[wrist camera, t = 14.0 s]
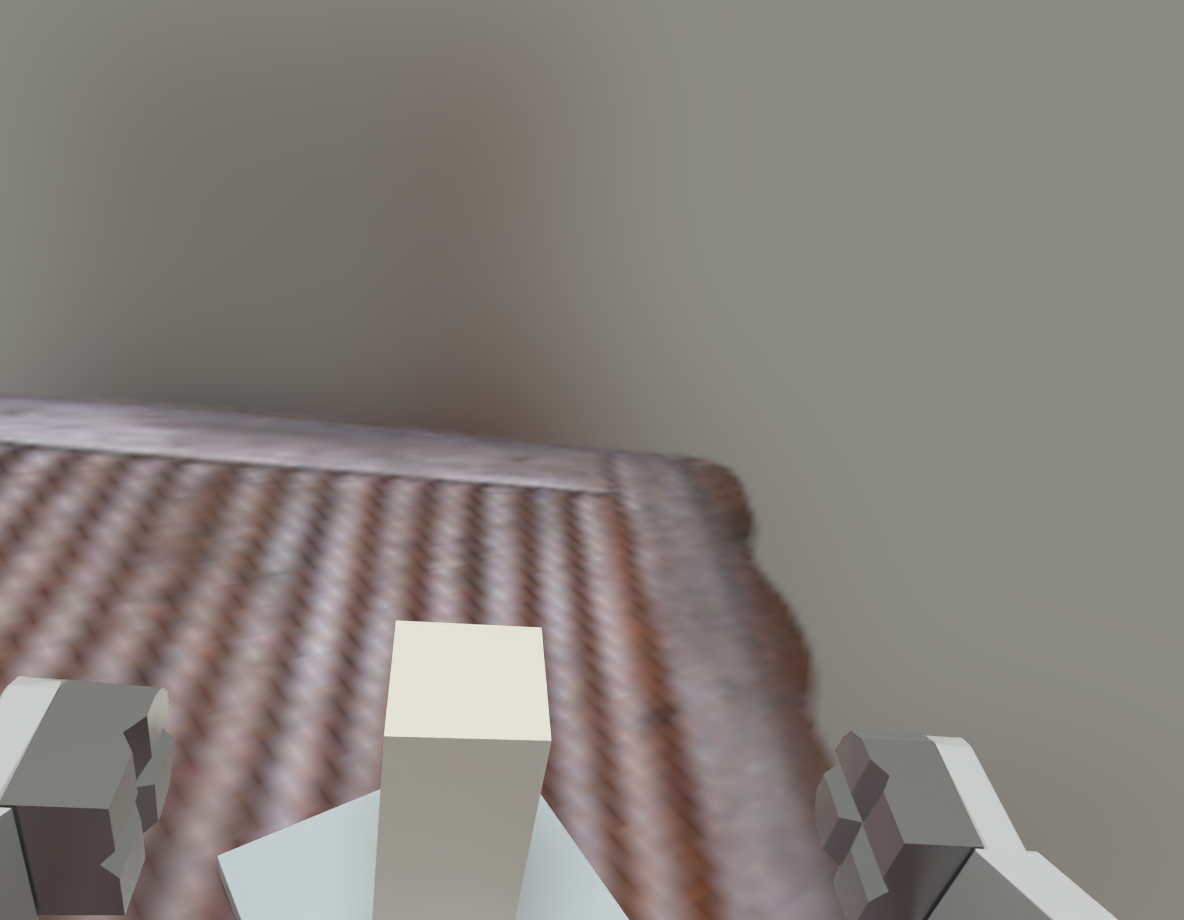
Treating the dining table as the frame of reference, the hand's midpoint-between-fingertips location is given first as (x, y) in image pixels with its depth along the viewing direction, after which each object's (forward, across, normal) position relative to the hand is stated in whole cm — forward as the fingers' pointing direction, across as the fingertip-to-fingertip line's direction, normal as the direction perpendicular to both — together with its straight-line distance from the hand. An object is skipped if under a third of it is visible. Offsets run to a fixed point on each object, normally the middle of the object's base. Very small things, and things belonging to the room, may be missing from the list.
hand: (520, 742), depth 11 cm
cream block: (+11, -1, +23) cm, 26 cm away
